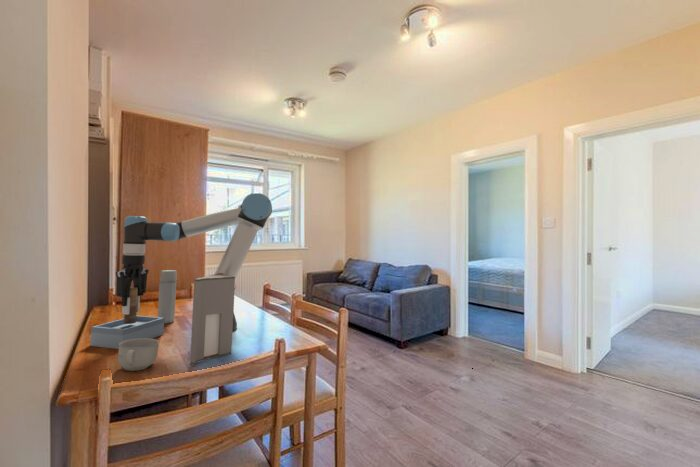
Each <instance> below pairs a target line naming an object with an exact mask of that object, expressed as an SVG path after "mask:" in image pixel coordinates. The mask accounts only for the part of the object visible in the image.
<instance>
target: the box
mask: <svg viewBox="0 0 700 467" xmlns="http://www.w3.org/2000/svg"><path fill="white" fill-rule="evenodd" d="M164 329H165V323H164V318H160V317H158V316H146V315H137V314H136V323H132V324H124V318H120V319H118V320H113V321H109V322H106V323H105V322H104V323H101V324H97V325H93V326H91V327H90V341H89V343H90V347H98V348H99V347H100V348H107V349H108V348H109V349H116V350H119V343H121V342H123V341H126V340H131V339H138V338H150V339H156V338H157V337H159V336H163V335H164V332H165V330H164Z"/></svg>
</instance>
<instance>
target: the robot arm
mask: <svg viewBox="0 0 700 467" xmlns="http://www.w3.org/2000/svg"><path fill="white" fill-rule="evenodd" d="M272 211H273V205H272V202H271V199H270V198H269V197H268V196H267V195H266V194H263V193H261V192H252V193H249V194H247V195H246V196H245V197H244V199H243V200H242V203H241V204H239V205H238V206H237V207H233V208H229V209H226V210H220V211H217V212H214V213H209V214H206V215H201V216H198V217H195V218H194V217H193V218H189V219H185V220H181V221H177V222H159V221H158V222H157V221H155V222H154V221H148V218H147V217H146V216H136V215H135V216H134V215H126V217H125V218H124V225H123V245H122V254H124V255H122V258H121V264H122V265H123V266H122V269H121V270H119V271H118V270H117V271H116V272H115V275H116V276H115V277H116V297H117V298H118V297H119V298H121V302H120V303H121V304H120V305H121V314H122V315H124V314H126V315H128V314H129V312H130V298H128V297H129V292H130V288H131V287H132V282H133V287H138V295H137V312H136V313H140V303H141V301H142V300H141V299H142V296H144V294H145V293H146V292H147V283H148V282H147V281H148V274H149V270H150V269H148V268H144V266H143V265H144V264H145V262H146V261H145V260H146V255H145V254H146V244H147V241H157V242H159V241H160V242H164V241H165V242H177V241H180V240H182V239H185V238H189V237H193V236H196V235H200V234H203V233H204V234H205V233H208V232H209V233H210V232H213V231H216V230H219V229H223V228H227V227H231V226H235V225H237V226H236V228H235V230H234V232H233V234H232V236H231V239H230V241H229V243H228V244H227V247H226V250H225V251H224V254H223V256H222V258H221V260H220V262H219V264H218V267H217V268H216V271H215V273H214V274H218V273H223V275H228V276H234V277H235V280H236V279H237V277H238V275H239V272H240V271H241V268H242V266H243V264H244V261H245V259H247V258H246V257H247V255H248V253H249V251H250V248H251V246H252V245H253V242H254V240H255V239H256V236H257V234H258V232H259V231H261V230H263V229H264V227H265V225H266V223H267V221H268V219H269V218H270V217H271V216H272V214H273V212H272ZM236 287H237V285H236V284H235V286H234V292H235V290H236ZM234 310H235V308H233V329H232V332H233V331H235V330H237V328H238V322H237V318H236V315H235V312H234Z"/></svg>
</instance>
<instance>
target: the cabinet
mask: <svg viewBox="0 0 700 467" xmlns="http://www.w3.org/2000/svg"><path fill="white" fill-rule="evenodd" d="M235 285H236V279H235V277H234V276H228V275H223V273H218V274H215V273H214V274H210V275H207V276H202V277H198V278H195V279H193V300H192V318H191V320H192V321H191V337H190V357H189V365H193V366H195V365H196V364H198V363H200V362H203V361H207V360H212V359H216V358H220V357H224V356H229V355H232V351H233V350H232V348H233V331H232V329H233V308H234V307H235V291H234V286H235ZM234 309H235V308H234Z"/></svg>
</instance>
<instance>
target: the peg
mask: <svg viewBox="0 0 700 467" xmlns="http://www.w3.org/2000/svg"><path fill="white" fill-rule="evenodd" d="M137 295H138V287H134V286H131V288H130V292H129V297H128V298H130V312H129V314H128V315H126V314H123V316H124V317H123V319H124V324H132V323H136V315H137V313H138V312H137Z"/></svg>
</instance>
